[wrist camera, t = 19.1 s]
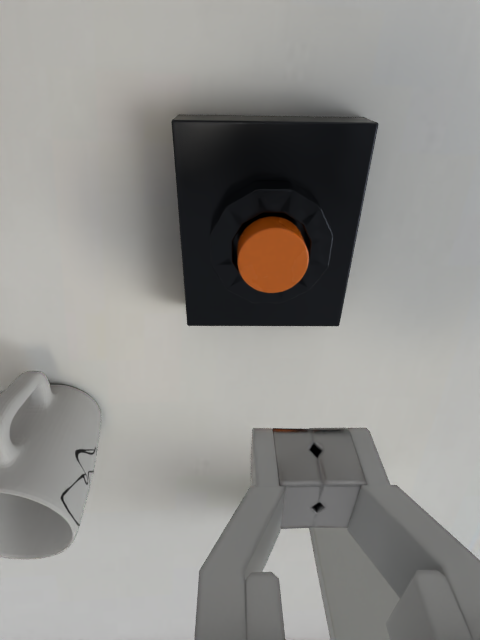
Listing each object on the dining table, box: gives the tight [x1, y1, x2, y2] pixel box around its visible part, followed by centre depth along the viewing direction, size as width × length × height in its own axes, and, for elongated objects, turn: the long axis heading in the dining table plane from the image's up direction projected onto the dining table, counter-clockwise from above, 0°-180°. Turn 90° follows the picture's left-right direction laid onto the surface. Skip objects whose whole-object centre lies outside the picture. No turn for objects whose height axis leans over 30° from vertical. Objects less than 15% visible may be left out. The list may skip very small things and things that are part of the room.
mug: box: [0, 371, 101, 559], centre depth 27 cm, size 11×8×10 cm
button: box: [237, 216, 309, 293], centre depth 20 cm, size 4×4×2 cm
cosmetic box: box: [309, 527, 400, 640], centre depth 34 cm, size 8×7×16 cm
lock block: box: [172, 115, 378, 326], centre depth 22 cm, size 12×10×4 cm
